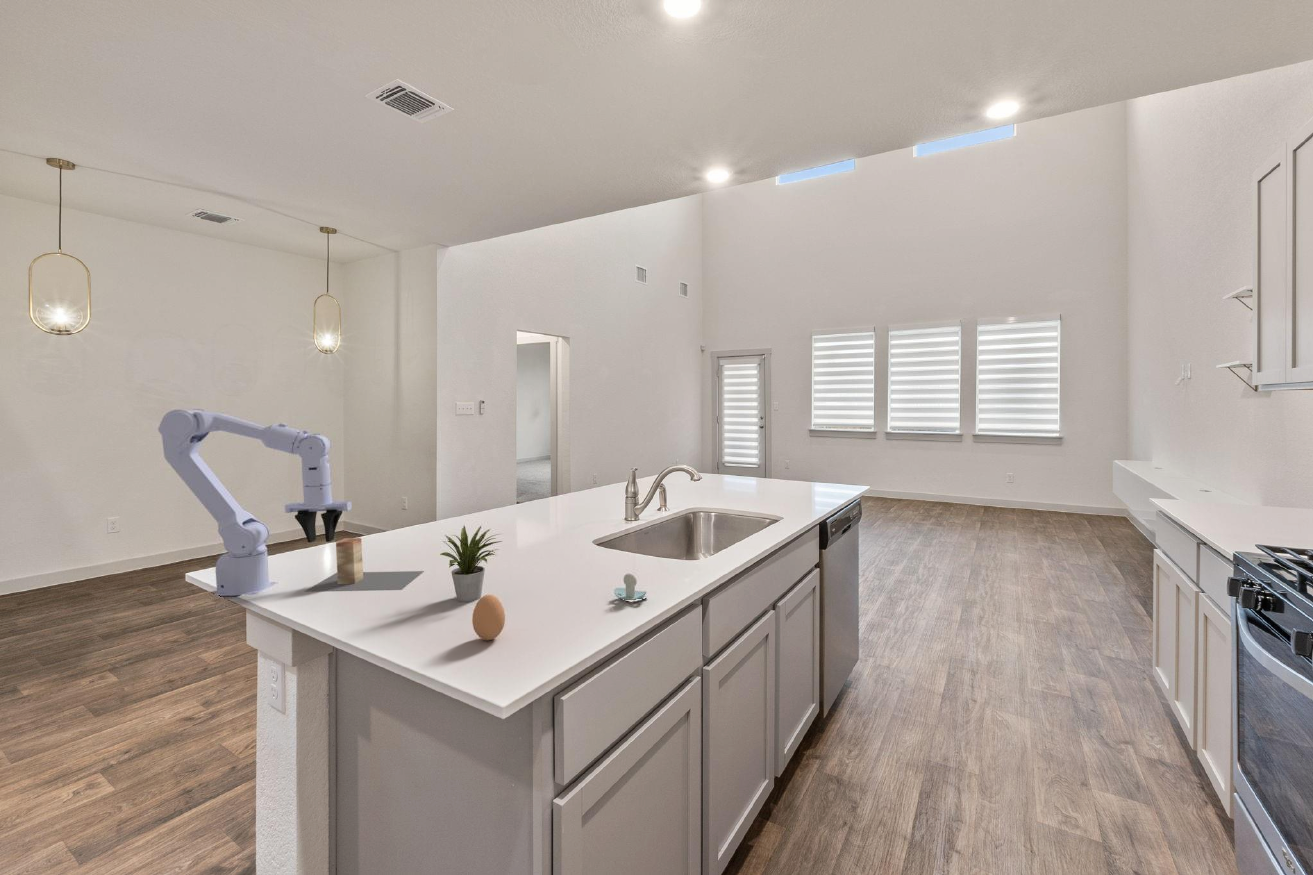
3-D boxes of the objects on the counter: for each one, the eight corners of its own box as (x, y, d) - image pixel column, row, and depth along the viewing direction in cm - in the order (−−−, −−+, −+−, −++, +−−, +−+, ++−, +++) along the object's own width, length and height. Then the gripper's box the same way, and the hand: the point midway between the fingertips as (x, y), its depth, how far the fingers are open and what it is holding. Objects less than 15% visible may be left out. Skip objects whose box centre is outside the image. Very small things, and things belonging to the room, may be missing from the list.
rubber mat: (304, 593, 129) (304, 591, 129) (336, 574, 143) (336, 572, 143) (401, 591, 130) (401, 589, 129) (424, 572, 143) (424, 571, 143)
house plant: (480, 613, 116) (478, 535, 115) (420, 609, 119) (417, 533, 117) (512, 590, 130) (510, 520, 129) (457, 587, 132) (455, 518, 131)
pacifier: (623, 593, 128) (611, 601, 122) (623, 566, 128) (611, 573, 122) (652, 598, 125) (641, 606, 120) (653, 570, 125) (641, 577, 119)
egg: (511, 638, 104) (510, 594, 103) (483, 649, 99) (482, 603, 99) (494, 630, 108) (493, 587, 107) (466, 639, 103) (465, 595, 103)
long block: (337, 583, 134) (335, 542, 133) (346, 578, 138) (344, 538, 137) (354, 583, 134) (353, 542, 133) (363, 578, 138) (361, 538, 137)
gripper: (356, 481, 138) (359, 535, 139) (296, 483, 138) (300, 537, 139) (341, 486, 131) (345, 543, 132) (277, 487, 131) (282, 545, 132)
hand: (320, 541), depth 135 cm, fingers open, 4 cm apart
